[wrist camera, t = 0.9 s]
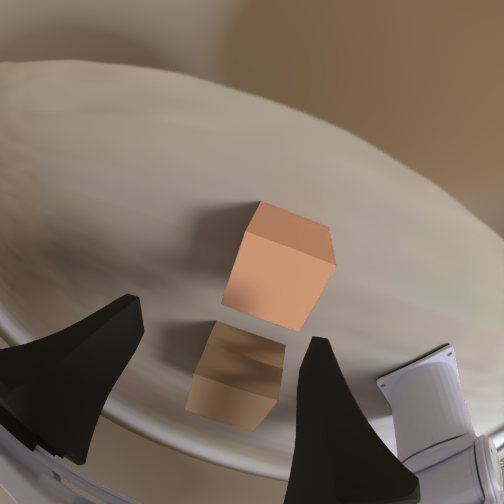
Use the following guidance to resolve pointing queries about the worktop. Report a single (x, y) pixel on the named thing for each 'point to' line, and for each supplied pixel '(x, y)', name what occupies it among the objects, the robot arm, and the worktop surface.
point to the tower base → (247, 344)
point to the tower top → (233, 388)
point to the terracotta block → (280, 267)
